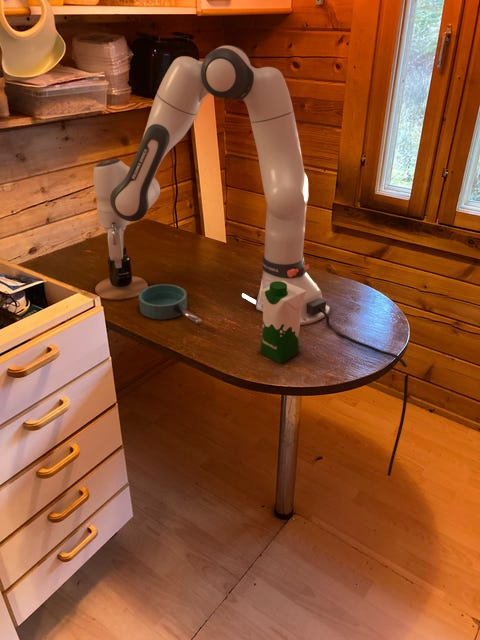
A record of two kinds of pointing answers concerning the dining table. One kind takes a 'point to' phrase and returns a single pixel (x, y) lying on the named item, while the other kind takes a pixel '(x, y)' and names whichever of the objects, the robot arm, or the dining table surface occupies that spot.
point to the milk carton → (281, 320)
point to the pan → (162, 301)
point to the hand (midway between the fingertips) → (118, 261)
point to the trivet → (120, 289)
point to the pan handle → (188, 315)
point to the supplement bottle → (120, 271)
